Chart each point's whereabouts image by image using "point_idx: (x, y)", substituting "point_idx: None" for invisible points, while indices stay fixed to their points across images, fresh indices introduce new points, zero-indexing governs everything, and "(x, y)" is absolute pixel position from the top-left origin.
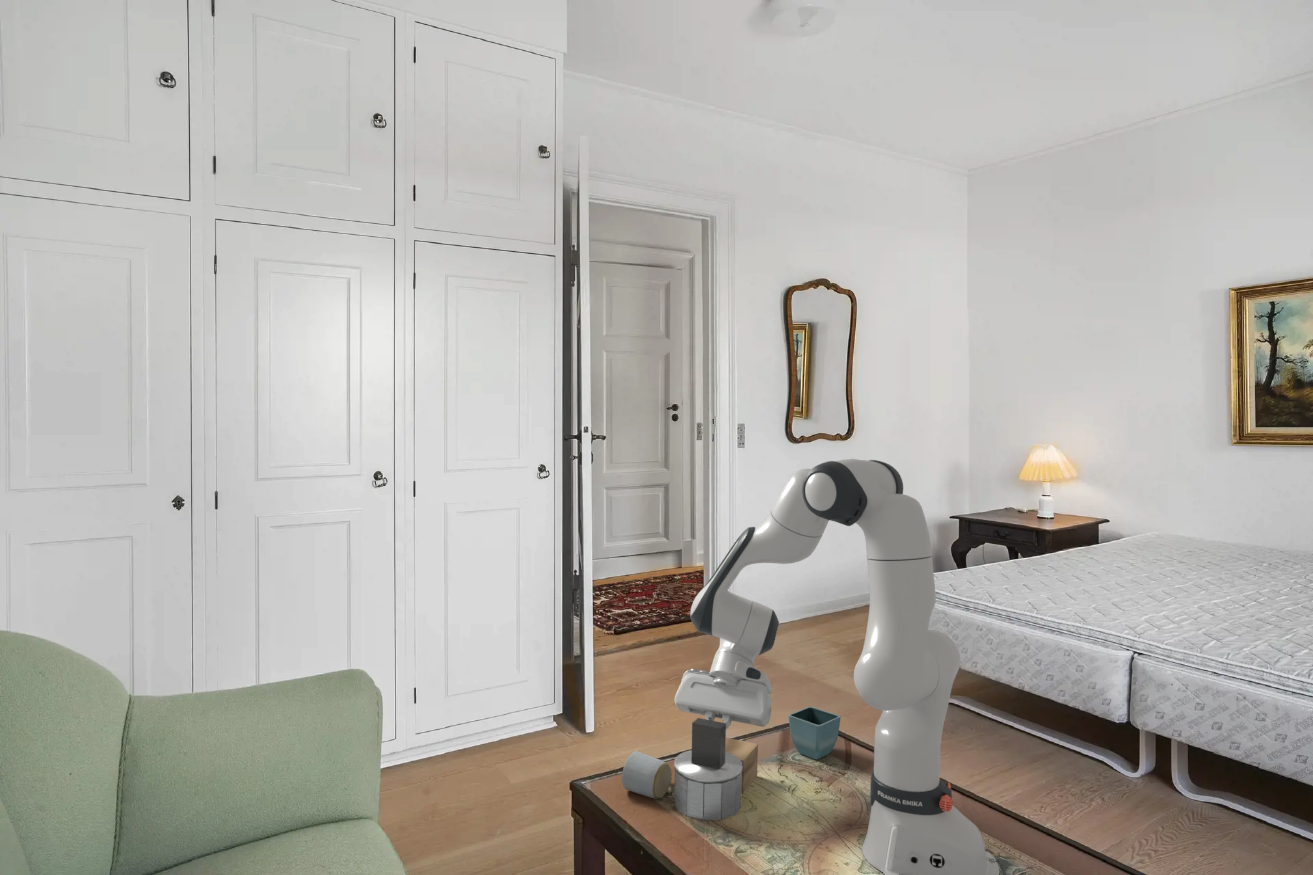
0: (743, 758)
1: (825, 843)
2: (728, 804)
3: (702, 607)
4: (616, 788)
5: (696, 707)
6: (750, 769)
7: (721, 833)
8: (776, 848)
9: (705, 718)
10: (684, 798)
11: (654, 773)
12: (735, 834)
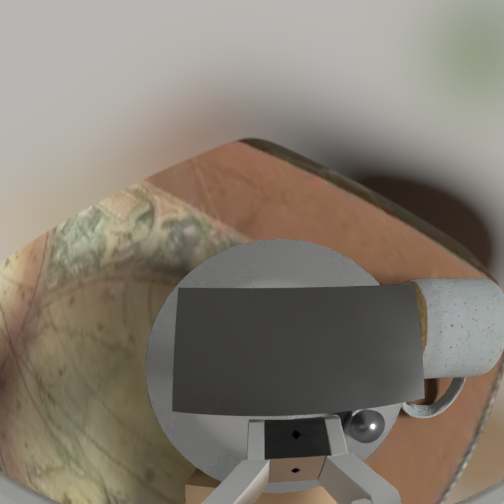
0: (192, 498)
1: (24, 306)
2: None
3: None
4: None
5: (481, 492)
6: None
7: (193, 255)
8: (88, 253)
9: (384, 480)
10: None
11: (421, 284)
12: (165, 265)
